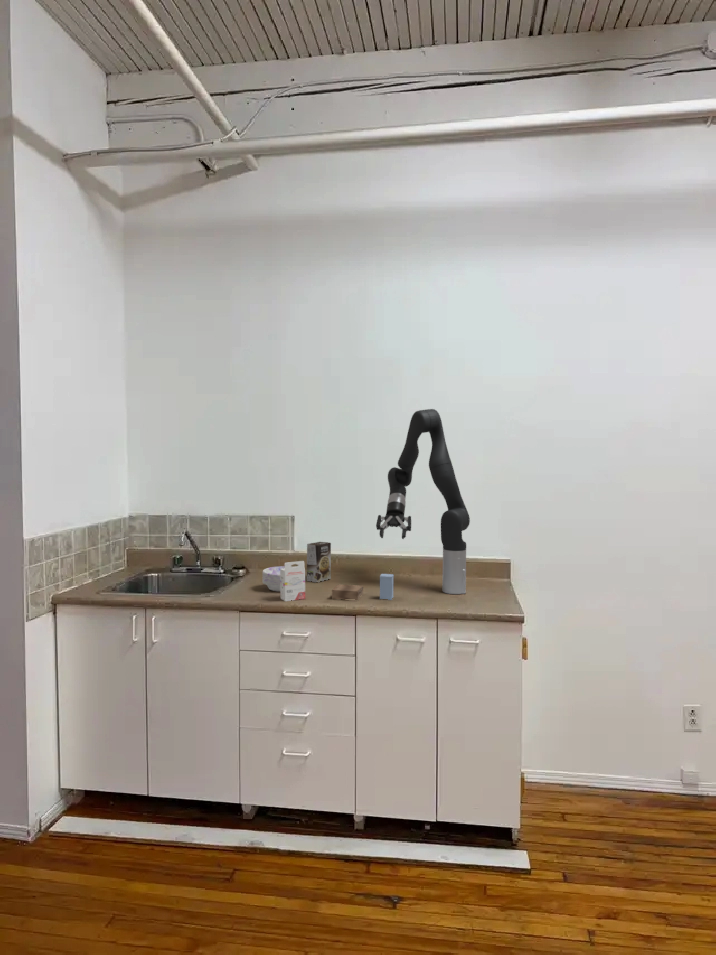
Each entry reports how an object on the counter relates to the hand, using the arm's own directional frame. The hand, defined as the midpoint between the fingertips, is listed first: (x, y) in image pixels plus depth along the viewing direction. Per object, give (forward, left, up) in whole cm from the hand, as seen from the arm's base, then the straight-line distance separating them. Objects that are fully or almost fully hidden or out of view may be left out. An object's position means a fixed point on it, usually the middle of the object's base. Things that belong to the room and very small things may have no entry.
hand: (392, 537), depth 271 cm
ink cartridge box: (+35, +24, -21) cm, 47 cm away
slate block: (0, +16, -21) cm, 26 cm away
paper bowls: (+44, +9, -21) cm, 50 cm away
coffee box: (+33, -10, -21) cm, 41 cm away
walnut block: (+15, +17, -22) cm, 31 cm away
